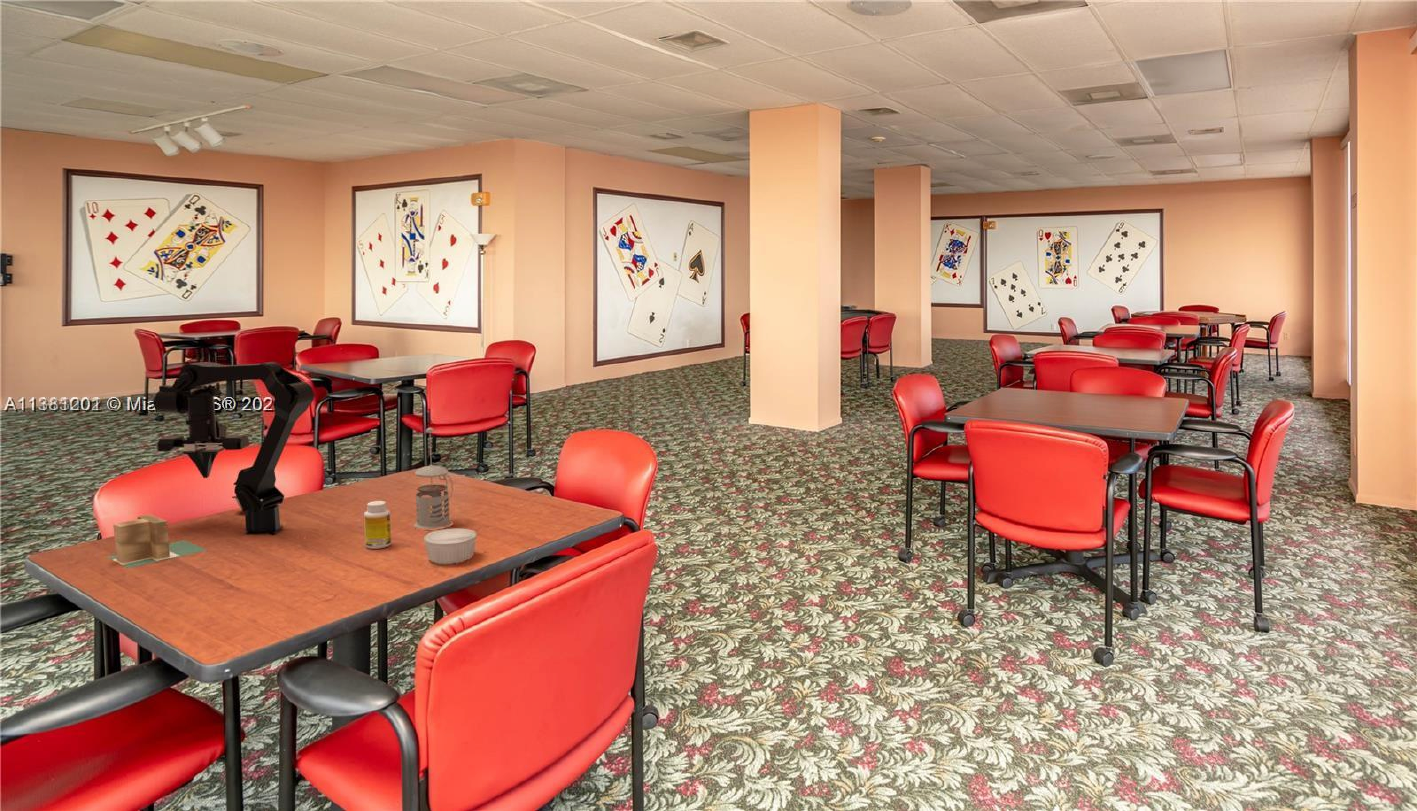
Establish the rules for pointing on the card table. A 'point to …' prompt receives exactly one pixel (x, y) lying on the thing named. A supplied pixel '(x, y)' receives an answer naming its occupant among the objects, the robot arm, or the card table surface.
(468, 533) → the ramekin
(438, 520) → the french press
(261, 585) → the card table surface
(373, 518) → the supplement bottle
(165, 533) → the oak t block
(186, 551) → the board
